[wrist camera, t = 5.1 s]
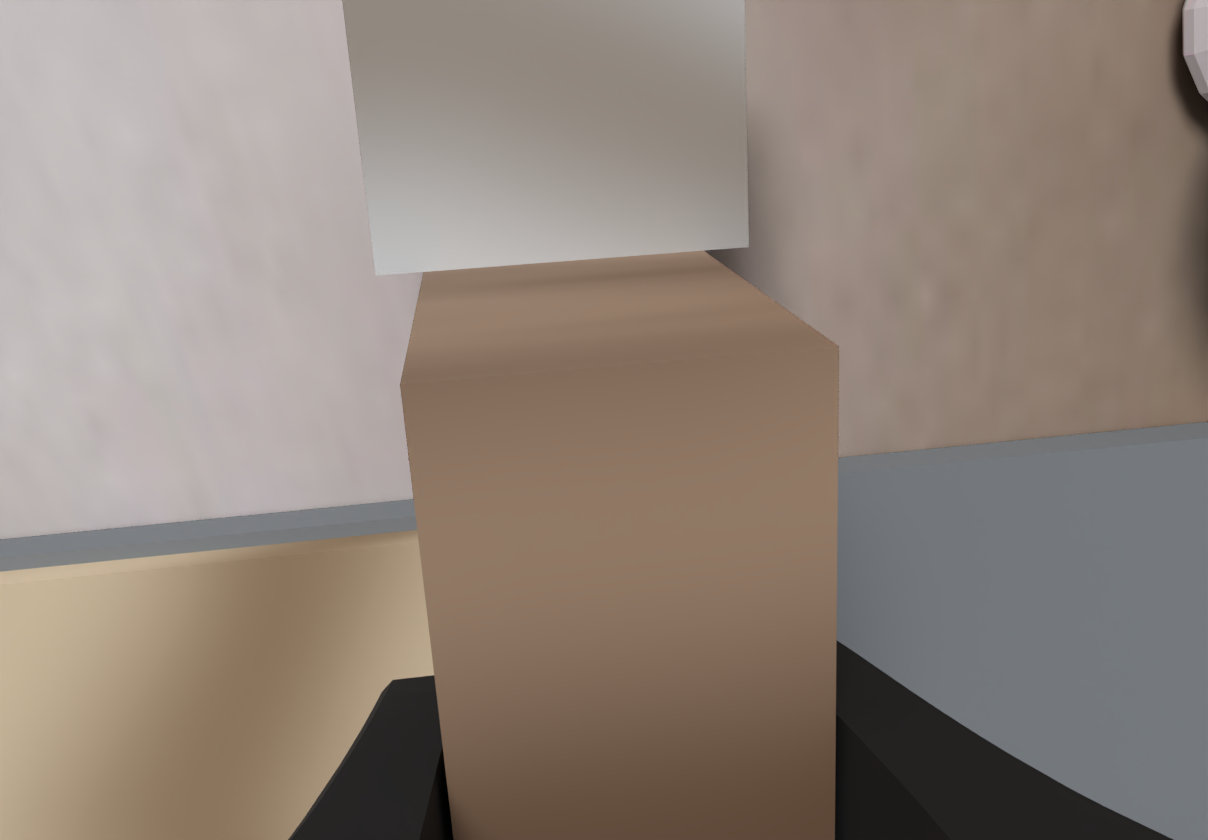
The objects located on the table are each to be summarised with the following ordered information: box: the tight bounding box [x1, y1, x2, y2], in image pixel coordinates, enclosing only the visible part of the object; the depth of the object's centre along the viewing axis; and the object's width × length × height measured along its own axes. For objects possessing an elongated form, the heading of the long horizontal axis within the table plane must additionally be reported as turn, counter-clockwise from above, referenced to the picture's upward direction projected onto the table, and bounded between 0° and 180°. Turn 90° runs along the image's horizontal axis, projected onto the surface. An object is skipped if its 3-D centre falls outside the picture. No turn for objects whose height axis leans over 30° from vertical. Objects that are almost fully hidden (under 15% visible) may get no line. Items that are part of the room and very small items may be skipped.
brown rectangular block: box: [342, 0, 839, 840], centre depth 11 cm, size 12×4×5 cm, turn 3°
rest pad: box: [0, 530, 434, 840], centre depth 15 cm, size 10×6×1 cm, turn 93°
